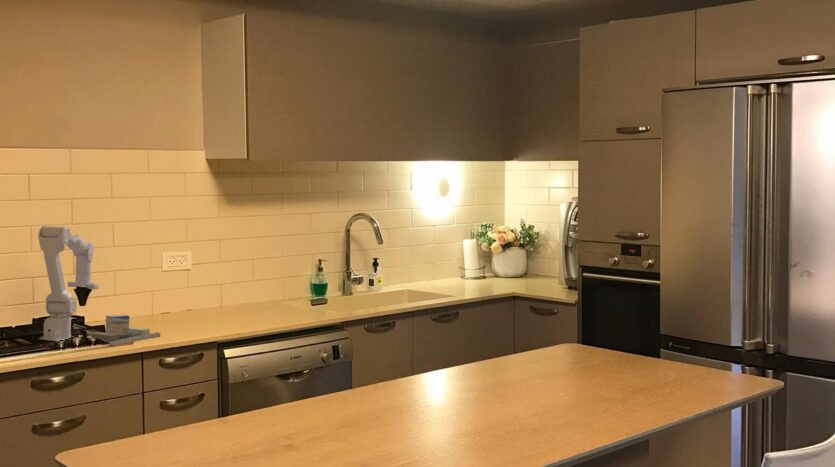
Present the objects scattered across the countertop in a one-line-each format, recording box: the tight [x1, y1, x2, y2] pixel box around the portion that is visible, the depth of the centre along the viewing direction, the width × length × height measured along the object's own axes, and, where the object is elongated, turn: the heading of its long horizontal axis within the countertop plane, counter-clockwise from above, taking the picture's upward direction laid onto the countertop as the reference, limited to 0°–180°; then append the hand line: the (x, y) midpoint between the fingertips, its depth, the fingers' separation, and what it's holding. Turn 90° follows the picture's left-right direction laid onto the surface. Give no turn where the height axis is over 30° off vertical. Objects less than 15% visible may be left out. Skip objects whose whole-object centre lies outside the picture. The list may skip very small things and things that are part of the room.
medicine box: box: [105, 314, 130, 339], centre depth 357 cm, size 8×4×9 cm, turn 127°
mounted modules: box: [90, 325, 151, 345], centre depth 355 cm, size 21×10×3 cm, turn 155°
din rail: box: [109, 332, 161, 347], centre depth 351 cm, size 26×2×2 cm, turn 155°
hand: (82, 305), depth 366 cm, fingers closed
